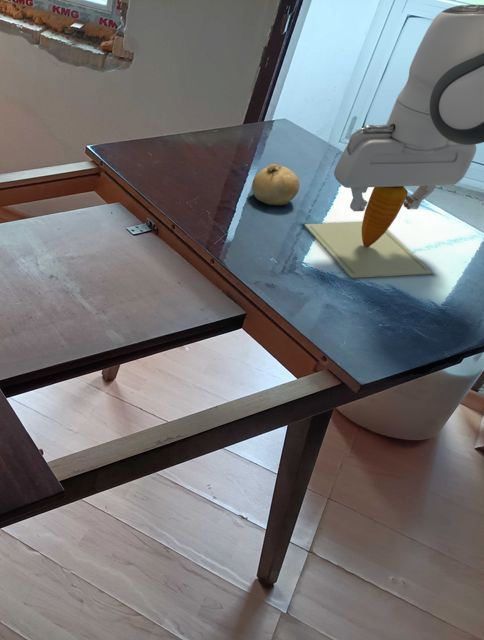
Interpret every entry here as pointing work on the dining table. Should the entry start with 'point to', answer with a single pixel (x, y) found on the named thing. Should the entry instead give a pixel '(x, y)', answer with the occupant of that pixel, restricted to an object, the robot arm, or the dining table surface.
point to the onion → (275, 185)
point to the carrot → (381, 212)
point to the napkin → (366, 251)
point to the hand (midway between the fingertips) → (383, 208)
